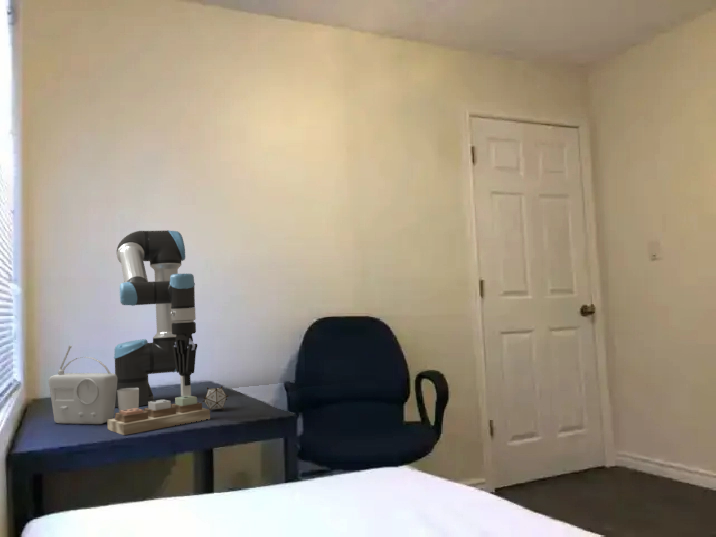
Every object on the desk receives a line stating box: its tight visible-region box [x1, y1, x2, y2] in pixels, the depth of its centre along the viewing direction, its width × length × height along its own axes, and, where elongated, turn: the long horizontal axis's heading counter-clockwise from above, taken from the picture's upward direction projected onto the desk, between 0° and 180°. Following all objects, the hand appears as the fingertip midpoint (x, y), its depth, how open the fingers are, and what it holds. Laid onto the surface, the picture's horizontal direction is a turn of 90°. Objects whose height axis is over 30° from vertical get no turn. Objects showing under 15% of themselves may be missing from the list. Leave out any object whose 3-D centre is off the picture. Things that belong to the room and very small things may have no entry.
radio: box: [48, 344, 117, 425], centre depth 211 cm, size 22×8×25 cm, turn 75°
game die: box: [201, 385, 229, 411], centre depth 223 cm, size 9×8×10 cm
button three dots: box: [120, 408, 144, 415], centre depth 197 cm, size 5×5×3 cm
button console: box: [106, 401, 211, 436], centre depth 203 cm, size 12×28×5 cm, turn 132°
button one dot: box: [174, 395, 198, 406], centre depth 209 cm, size 5×5×3 cm
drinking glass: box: [117, 388, 140, 413], centre depth 211 cm, size 7×7×10 cm
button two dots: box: [147, 399, 172, 410], centre depth 203 cm, size 5×5×3 cm
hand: (186, 395), depth 209 cm, fingers closed
